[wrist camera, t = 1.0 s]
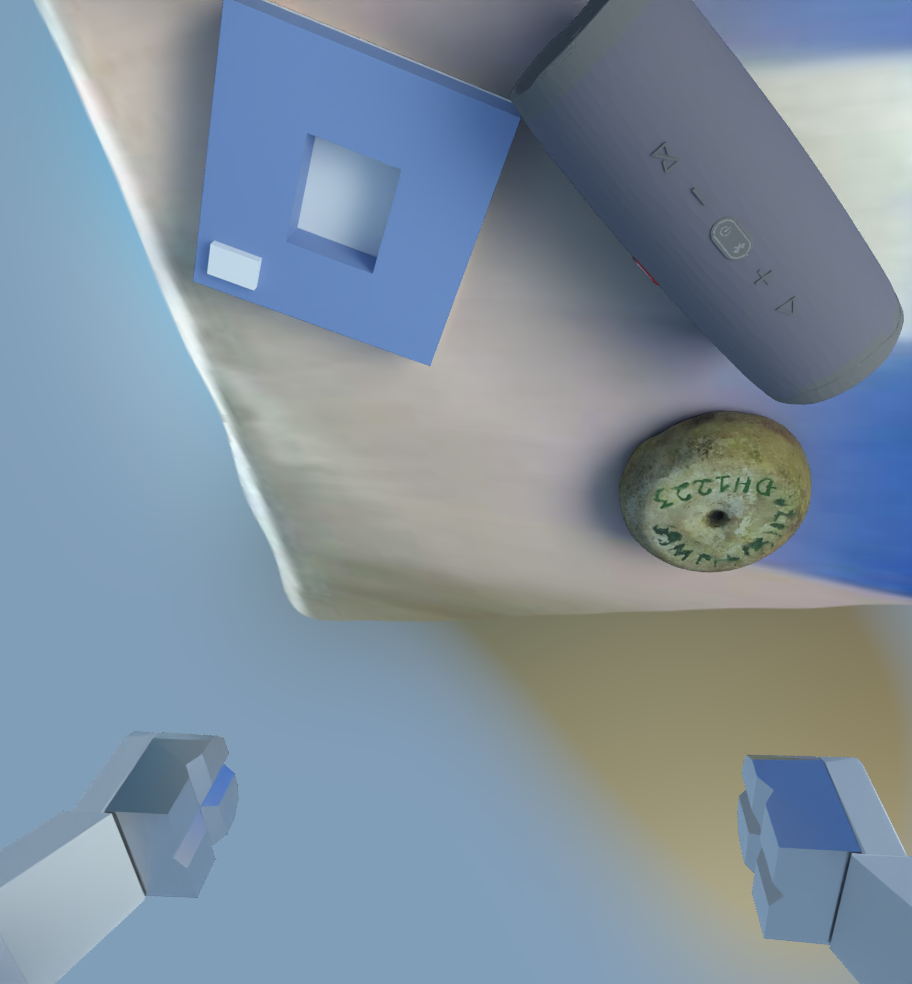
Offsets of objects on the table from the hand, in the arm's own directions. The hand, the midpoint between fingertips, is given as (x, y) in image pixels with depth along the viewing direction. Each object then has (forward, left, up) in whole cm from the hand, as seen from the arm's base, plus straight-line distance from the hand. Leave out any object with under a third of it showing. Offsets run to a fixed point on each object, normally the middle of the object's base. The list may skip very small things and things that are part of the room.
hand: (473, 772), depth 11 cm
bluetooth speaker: (-1, +10, -40) cm, 41 cm away
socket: (+7, -9, -39) cm, 41 cm away
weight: (+18, +22, -40) cm, 49 cm away
